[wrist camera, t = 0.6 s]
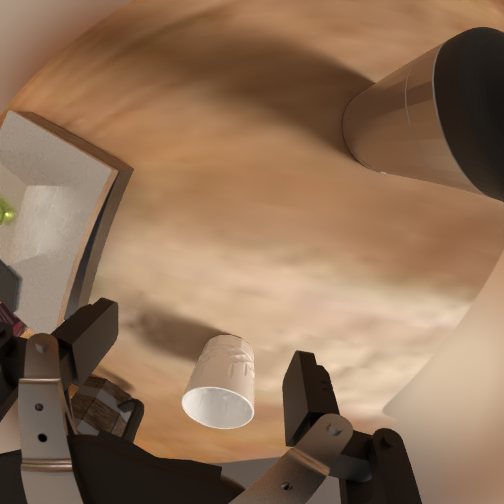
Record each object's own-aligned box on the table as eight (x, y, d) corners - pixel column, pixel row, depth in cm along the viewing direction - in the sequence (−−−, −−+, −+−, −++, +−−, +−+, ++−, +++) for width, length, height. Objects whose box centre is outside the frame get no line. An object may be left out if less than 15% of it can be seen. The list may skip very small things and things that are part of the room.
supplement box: (31, 327, 38) (-16, 373, 23) (16, 309, 37) (-33, 351, 22) (40, 305, 35) (-17, 355, 20) (24, 284, 34) (-35, 329, 19)
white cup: (237, 381, 37) (229, 435, 27) (190, 356, 35) (170, 409, 26) (269, 349, 34) (268, 407, 25) (217, 319, 33) (201, 375, 24)
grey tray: (41, 112, 25) (17, 111, 20) (142, 167, 27) (119, 170, 23) (11, 242, 32) (-9, 251, 27) (92, 309, 34) (74, 327, 29)
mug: (115, 423, 45) (91, 473, 31) (71, 381, 41) (37, 430, 27) (178, 412, 40) (155, 481, 26) (125, 360, 37) (83, 430, 23)
